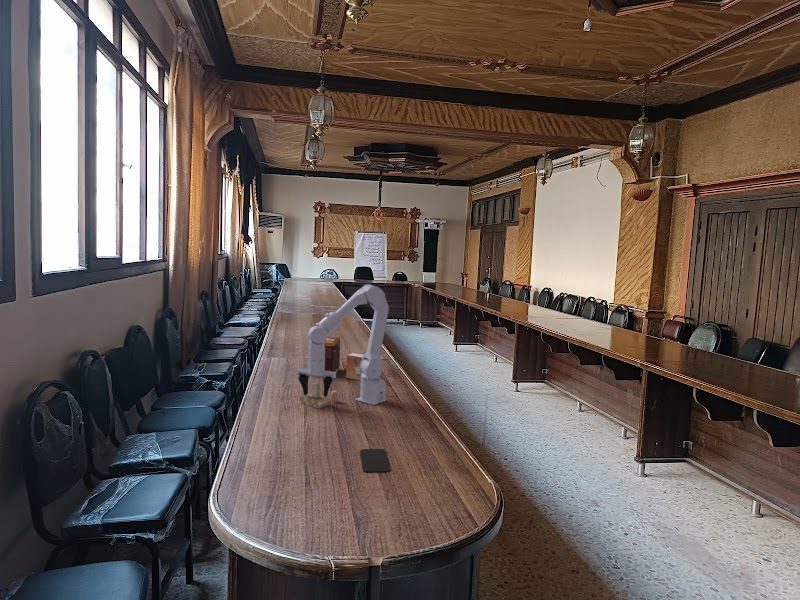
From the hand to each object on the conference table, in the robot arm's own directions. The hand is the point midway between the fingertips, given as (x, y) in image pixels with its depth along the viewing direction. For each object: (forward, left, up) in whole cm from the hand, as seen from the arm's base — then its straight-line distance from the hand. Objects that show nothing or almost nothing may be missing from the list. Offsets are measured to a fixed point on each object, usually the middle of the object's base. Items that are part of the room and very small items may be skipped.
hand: (315, 395), depth 200 cm
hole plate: (0, 0, -3) cm, 3 cm away
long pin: (0, 0, -3) cm, 3 cm away
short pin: (-4, -6, -3) cm, 8 cm away
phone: (-49, +27, -4) cm, 56 cm away
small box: (+13, -39, -3) cm, 41 cm away
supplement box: (+30, -37, -3) cm, 48 cm away
